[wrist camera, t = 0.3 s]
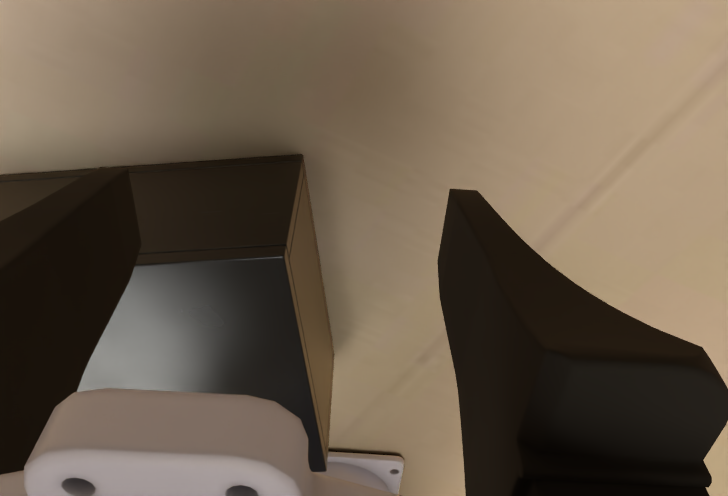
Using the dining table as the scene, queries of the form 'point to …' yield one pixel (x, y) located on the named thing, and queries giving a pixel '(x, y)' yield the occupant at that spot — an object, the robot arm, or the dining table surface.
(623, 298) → the dining table surface
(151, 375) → the black storage box
